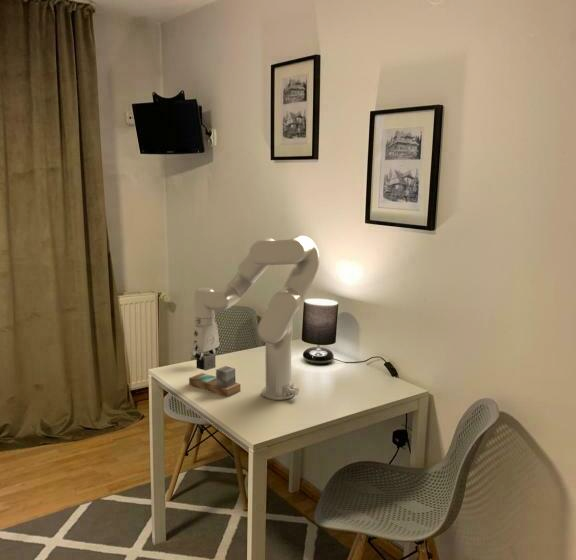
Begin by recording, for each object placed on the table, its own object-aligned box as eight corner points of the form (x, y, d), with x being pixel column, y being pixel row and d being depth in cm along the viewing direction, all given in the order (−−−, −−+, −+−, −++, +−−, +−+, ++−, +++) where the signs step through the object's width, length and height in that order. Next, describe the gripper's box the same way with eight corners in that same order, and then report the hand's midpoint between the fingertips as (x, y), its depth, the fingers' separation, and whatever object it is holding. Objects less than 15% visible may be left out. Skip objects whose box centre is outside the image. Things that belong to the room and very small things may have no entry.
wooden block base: (240, 391, 212) (240, 368, 210) (228, 397, 206) (227, 374, 205) (202, 380, 224) (201, 358, 222) (189, 385, 218) (188, 363, 216)
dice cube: (205, 370, 212) (204, 358, 211) (197, 367, 216) (196, 354, 215) (215, 367, 216) (215, 355, 215) (207, 364, 219) (207, 352, 218)
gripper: (195, 327, 203) (196, 375, 207) (227, 317, 217) (228, 362, 221) (181, 323, 208) (182, 370, 211) (213, 314, 221) (214, 358, 225)
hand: (205, 366), depth 216 cm, fingers closed on dice cube, 5 cm apart
